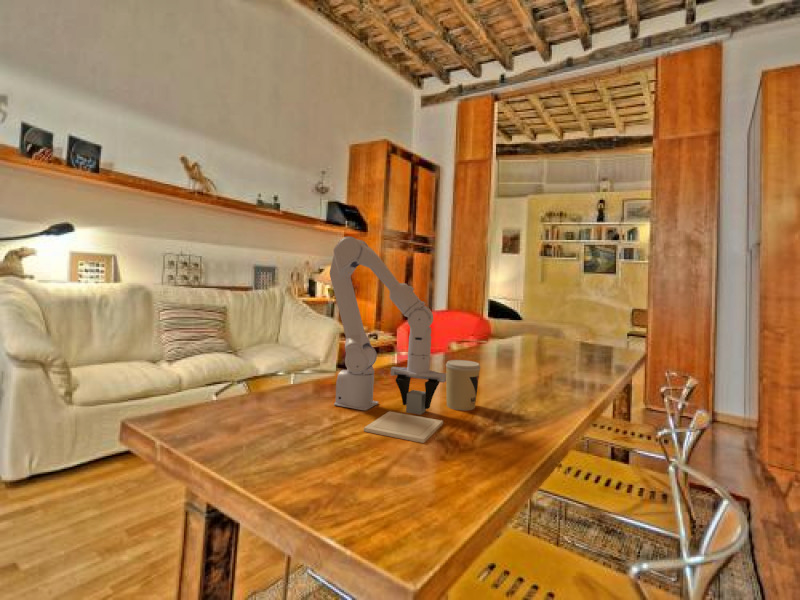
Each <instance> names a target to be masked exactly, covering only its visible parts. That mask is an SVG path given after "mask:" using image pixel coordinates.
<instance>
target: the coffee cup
mask: <svg viewBox="0 0 800 600" xmlns="http://www.w3.org/2000/svg"><path fill="white" fill-rule="evenodd" d="M445 367H446V368H445V374H446V381H445V385H446V387H445V388H446V389H445V391H446V399H445V400H446V407H447V408H449V409H452V410H456V411H465V412H466V411H472V410H474V409H475V408H476V402H477V401H476V400H477V393H478V387H479V379H480V370H481V366H480V363H478V362H477V361H473V360H465V359H451V360H448V361H446V363H445Z"/></svg>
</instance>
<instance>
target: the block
mask: <svg viewBox="0 0 800 600" xmlns="http://www.w3.org/2000/svg"><path fill="white" fill-rule="evenodd" d="M425 398H426V391H422V390H416V389H412V390H409V392H408V393H407V403H406V405H405V406H406V407H405V413H406V414H414V415H417V416H419V415H420V416H421V415H423V414H424V413H426V411H427V409H425Z"/></svg>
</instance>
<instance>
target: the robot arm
mask: <svg viewBox="0 0 800 600" xmlns="http://www.w3.org/2000/svg"><path fill="white" fill-rule="evenodd" d="M359 266H363V267H366V268H369V269H370V270H371V271H372V273H373V274H374V275H375V276H376V277H377V278H378V279H379V280H380V282H382V284H383V285H384V286H385V287H386V288H387V289H388V290H389V299H390V301H392V303H393V304H394V305H395V306H396V308H397V309H398V310H399V311H400V312H401V314H402V315H403V316H404V317H406V318H407V324H408V326H409V336H408V347H407V348H408V352H407V367H401V366H399V367H398V366H392V367H390V376H396V378H395V383H396V385H397V387H398V389H399V392H400V396H401V401H402V405H403V406H406V403H407V393H408V392H410V386H411V385H410V383H411V378H412V379H413V378H414V379H419V380H427V381H424V389H425V392H426V398H425V409H426V410H428V409H430V408H431V405H432V403H431V402H432V401H433V397H434V395H435V392H436V390H437V388H438V387H439V384H440V383H443V384H444V383H446V373H443V372H438V371H436V370H435V371H433V370H431V369H430V366H431V350H432V349H431V347H432V336H431V335H432V327H431V325H432V323H434V314H433V312H432V311H431V308H429V306H426V303H425V301H422V300H421V299H420V298H419V297H418V296H417V295H416V293H415V292H414V290H415V288H414V287H413V286H412V285H409V284H408V283H405V282H404V283H403V282H399V281H398V279H397V278H396V276H395V275H394V274H393V272H391V270H390V269H389V268H388V266H387V265H386V264H385V262H384V261H383V260H382V258H381V257H380V256H379V255H378V254H377V253H376V251H375V250H373V248H371V247H370V246H369V245H368V244H367V242H366V241H364V240H362V239H357V238H355V237H353V236H344V237H342V238H340V240H339V241H338V242H337V244H336V245H335V246H334V248H333V257H332V261H331V265H330V269H329V277H330V281H331V285H332V290H333V292H334V296H335V300H336V305H337V308H338V311H339V312H338V313H339V315H340V319H341V323H342V328H343V332H344V336H345V343H344V349H345V357H344V364H345V365H344V366H345V367H346V369H342V370H340V371H339V372H338V374H337V378H336V382H335V383H336V384H335V402H334V403H333V405H334V406H338V407H343V408H347V409H348V408H350V409H352V410H353V409H354V410H360V411H368V410H369V409H371V408H373V407H375V406H376V405H378V404H379V401H377V400H374V385H375V384H374V383H375V369H374V366H373V365H374V364H375V363H376V361H377V359H378V358H377V357H378V355H377V354H378V353H377V351H376V349H375V348H374V347H373V345H372V344H371V340H370V338H369V337H368V335H367V334H366V331H365V327H364V324H363V319H362V316H361V313H360V308H359V305H358V304H359V303H358V301H357V298H356V297H357V296H356V293H355V289H354V286H353V282H352V277H351V276H352V275H353V273H354V272H355V271H356V269H357V267H359Z"/></svg>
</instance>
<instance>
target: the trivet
mask: <svg viewBox="0 0 800 600" xmlns="http://www.w3.org/2000/svg"><path fill="white" fill-rule="evenodd" d="M443 424H444V420H442V419H436V418H435V419H434V418H431V417H424V416H419V415H412V414H409V413H403V412H402V413H401V412H396V411H391V410H389V411H387V412H386V413H385V414H383V415H381V416H379V417H378V418H377V419H375V420H374V421H372V422H371V423H369V424H367V425H366V426H364V427H363V432H365V433H371V434H376V435H381V436H385V437H386V436H387V437H390V438H396V439H402V440H406V441H411V442H417V443H422V444H425V443H426V442H427V441H428V439H429V438H430V437H432V436H433V434H435V432H436V431H437V430H439V429H440V427H442V425H443Z"/></svg>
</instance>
